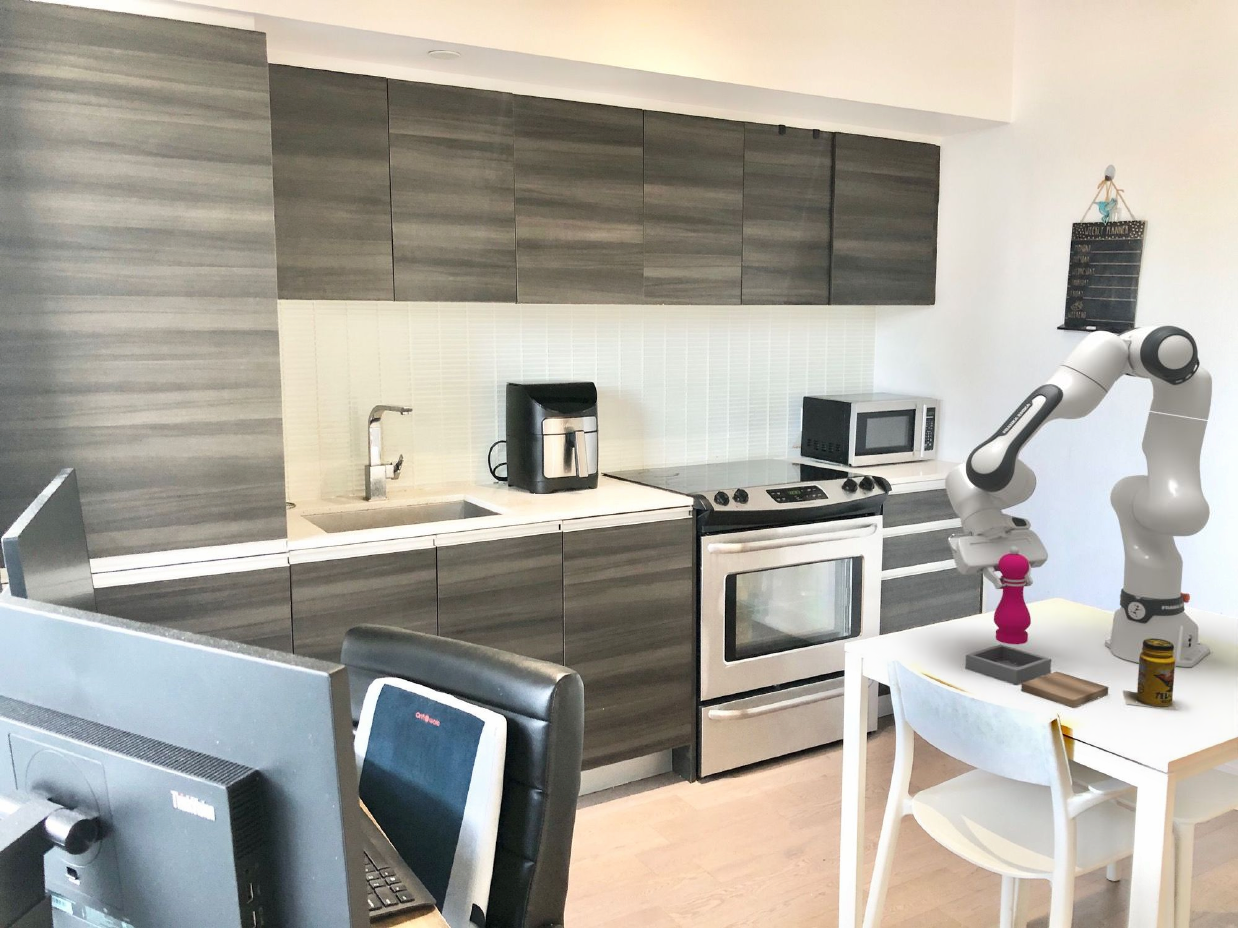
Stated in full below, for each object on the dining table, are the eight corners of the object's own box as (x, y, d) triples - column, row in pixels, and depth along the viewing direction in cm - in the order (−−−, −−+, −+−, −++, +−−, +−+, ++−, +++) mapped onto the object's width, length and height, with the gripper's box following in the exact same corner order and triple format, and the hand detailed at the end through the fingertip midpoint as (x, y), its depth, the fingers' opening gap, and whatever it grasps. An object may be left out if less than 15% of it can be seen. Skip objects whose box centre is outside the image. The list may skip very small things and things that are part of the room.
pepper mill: (1033, 646, 204) (1036, 550, 201) (996, 644, 206) (998, 550, 203) (1026, 635, 211) (1029, 542, 208) (990, 633, 213) (992, 542, 210)
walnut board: (1056, 678, 205) (1056, 671, 204) (1107, 694, 196) (1108, 686, 195) (1021, 690, 198) (1021, 683, 198) (1073, 707, 189) (1073, 700, 189)
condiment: (1176, 710, 187) (1181, 649, 186) (1126, 704, 190) (1130, 644, 189) (1171, 697, 194) (1175, 637, 192) (1122, 691, 197) (1126, 633, 195)
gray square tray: (999, 657, 218) (1000, 644, 217) (1050, 672, 208) (1051, 658, 207) (965, 668, 211) (966, 654, 210) (1016, 684, 201) (1016, 670, 201)
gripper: (950, 526, 209) (977, 582, 201) (1035, 519, 214) (1064, 574, 206) (938, 542, 214) (964, 598, 206) (1021, 535, 219) (1049, 589, 211)
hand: (1015, 586), depth 206 cm, fingers closed on pepper mill, 5 cm apart
